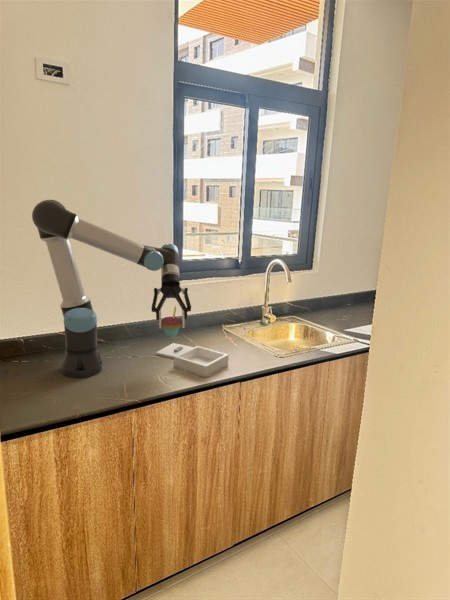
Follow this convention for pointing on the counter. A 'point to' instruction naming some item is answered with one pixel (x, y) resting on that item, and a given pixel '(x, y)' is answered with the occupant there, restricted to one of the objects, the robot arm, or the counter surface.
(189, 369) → the bin
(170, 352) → the bin lid
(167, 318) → the cupcake
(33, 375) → the counter surface
